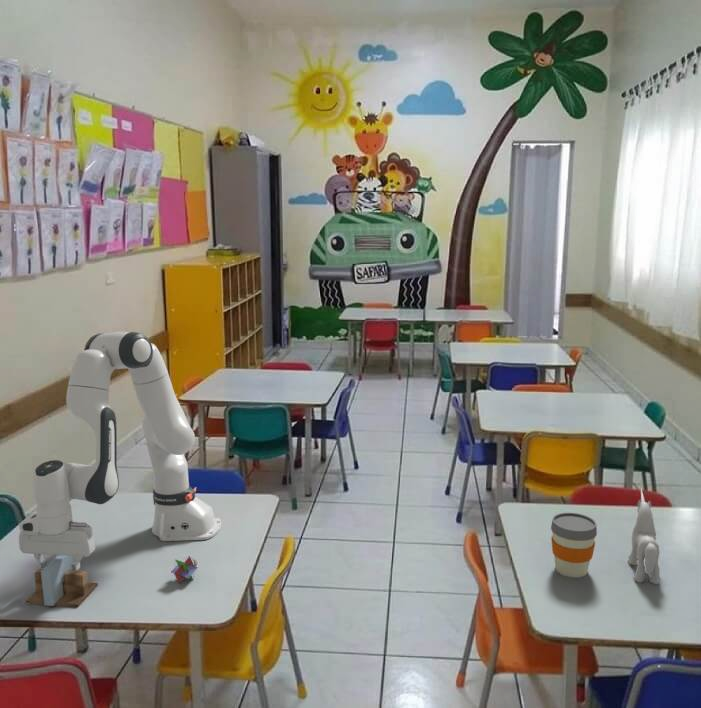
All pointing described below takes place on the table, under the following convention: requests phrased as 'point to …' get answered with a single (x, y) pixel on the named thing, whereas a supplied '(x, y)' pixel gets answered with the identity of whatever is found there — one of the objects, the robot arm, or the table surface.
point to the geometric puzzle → (184, 569)
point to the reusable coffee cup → (573, 543)
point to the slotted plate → (55, 578)
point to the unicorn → (645, 544)
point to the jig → (65, 589)
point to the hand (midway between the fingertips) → (59, 568)
